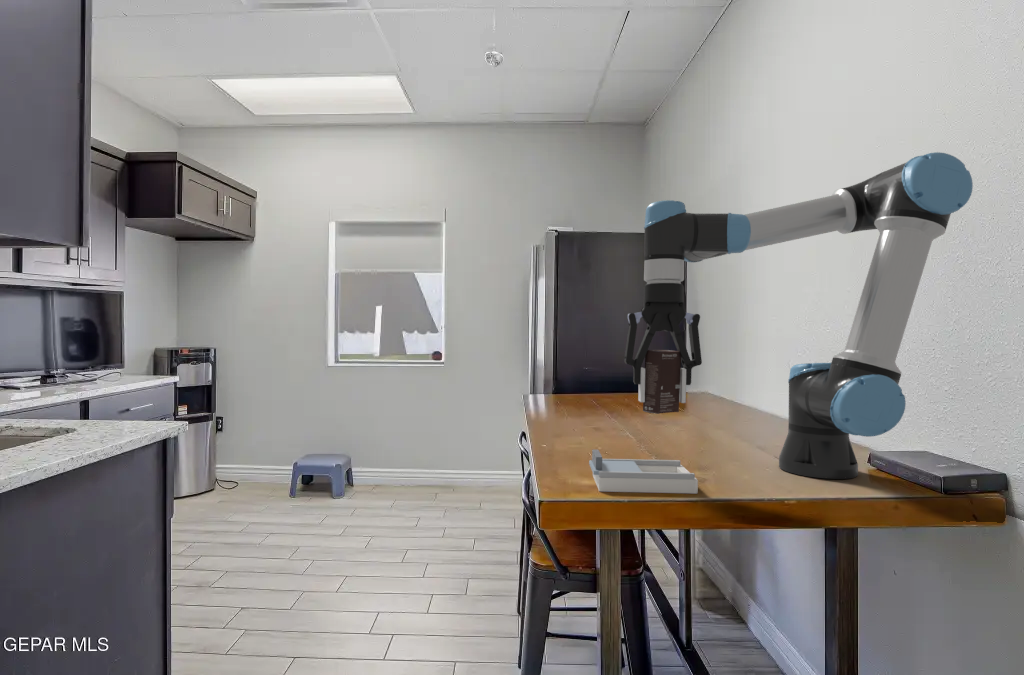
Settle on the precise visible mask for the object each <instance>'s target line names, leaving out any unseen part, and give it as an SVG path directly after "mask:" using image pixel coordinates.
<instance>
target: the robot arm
mask: <svg viewBox="0 0 1024 675" xmlns="http://www.w3.org/2000/svg"><path fill="white" fill-rule="evenodd" d="M973 184H974V183H973V178H972V175H971V173H970V170H969V169H967V168H966V164H964V162H962V160H960V159H959V158H957V157H956V156H954V155H952V154H949V153H946V152H939V151H937V152H930V153H929V152H928V153H926V154H923V155H917V156H915V157H913V158H910V159H909V160H908V161H906V162H904V163H901V164H900V165H897V166H894V167H892V168H890V169H888V170H887V169H886V170H884V171H883V172H880V173H878V174H876V175H874V176H872V177H869V178H868V179H866V180H863V181H861V182H859V183H855V184H853V185H850V186H847V187H842V188H841V187H840V188H838V189H836V190H834V191H833V193H832V194H831V195H829V196H825V197H824V196H823V197H819V198H815V199H810V200H805V201H802V202H801V201H800V202H797V203H792V204H791V203H790V204H786V205H783V206H778V207H773V208H768V209H764V210H760V211H755V212H751V213H747V214H742V213H732V212H728V213H693V212H687V210H686V204H685V203H684V202H683V201H680V200H670V199H669V200H668V199H667V200H666V199H665V200H660V201H659V200H658V201H657V200H656V201H654V202H651V203H650V204H649V205H648V206H647V207H646V209H645V220H644V227H643V229H644V260H643V261H644V262H643V263H644V264H643V266H644V267H643V268H644V270H643V281H644V282H646V283H645V284H644V285H643V305H642V309H640V311H639V312H638V311H637V312H634V313H633V312H631V313H629V312H628V313H627V315H626V319H627V323H628V329H627V330H628V331H627V335H626V342H625V343H626V344H625V348H624V349H625V351H624V356H623V357H624V358H623V361H624V363H625V364H626V365H629V366H631V367H632V368H633V370H632V374H633V375H632V376H633V377H632V378H633V379H632V380H633V381H632V382H633V383H634V385H638V398H637V399H638V400H637V401H638V402H639V403H643V402H645V367H642V365H643V363H644V361H645V355H646V353H647V350H649V348H650V346H651V343H652V340H653V338H654V336H655V333H656V332H662V331H664V332H669V333H670V335H671V337H672V340H673V342H674V345H675V348H676V351H679V352H680V354H681V366H682V367H681V372H680V395H679V403H681V404H686V403H687V401H686V400H687V397H686V396H687V386H691V385H692V370H693V368H694V367H697V366H700V365H702V362H703V361H702V353H701V344H700V334H699V333H700V332H699V324H700V320H701V315H700V314H699V313H690V312H687V311H686V309H685V306H684V302H685V301H684V298H685V297H684V296H685V295H684V294H685V286H684V284H683V283H681V282H683V281H684V280H685V262H687V263H699V262H701V261H702V262H703V260H708V259H711V258H716V257H717V258H718V257H721V256H725V255H731V254H741V253H743V252H745V251H748V250H749V251H750V250H753V249H757V248H763V247H767V246H772V245H776V244H781V243H785V242H789V241H794V240H799V239H804V238H809V237H813V236H818V235H819V236H820V235H823V234H827V233H833V232H839V233H840V234H843V235H846V234H850V233H856V232H861V231H872V230H878V232H879V235H878V239H877V243H876V246H875V249H874V252H873V256H872V259H871V262H870V266H869V269H868V272H867V274H866V275H867V276H866V277H865V282H864V286H863V289H862V291H861V295H860V298H859V301H858V305H857V308H856V311H855V315H854V317H853V320H852V324H851V328H850V331H849V334H848V338H847V341H846V345H845V347H844V349H843V351H841V352H839V353H838V354H835V355H834V356H832V359H831V362H812V363H811V362H810V363H798V364H797V363H796V364H795V365H793V366H791V368H790V370H789V377H788V429H787V430H788V432H787V435H786V437H785V440H784V443H783V444H782V448H781V451H780V453H779V457H778V467H779V468H780V469H781V470H782V471H785V472H788V473H791V474H793V475H794V474H795V475H799V476H804V477H811V478H818V479H827V480H828V479H829V480H831V479H832V480H844V479H847V480H848V479H854V478H857V477H858V475H859V464H858V460H857V458H856V454H855V451H854V449H853V446H852V443H851V439H850V435H852V436H859V437H860V436H861V437H865V438H866V437H869V438H871V437H876V436H877V437H878V436H881V435H883V434H885V433H887V432H889V431H891V430H893V428H895V427H896V426H897V425H898V424H899V423H900V421H901V419H902V418H903V416H904V415H905V414H904V413H905V410H906V396H905V395H904V394H903V389H902V388H901V386H900V385H899V383H900V380H901V376H902V371H901V370H900V369H899V367H898V365H897V364H896V360H897V358H898V354H899V351H900V347H901V344H902V341H903V337H904V335H905V332H906V327H907V325H908V321H909V318H910V315H911V312H912V308H913V305H914V301H915V299H916V296H917V292H918V289H919V285H920V282H921V279H922V275H923V272H924V269H925V266H926V263H927V259H928V257H929V254H930V253H929V252H930V250H931V247H932V243H933V241H934V240H936V239H938V238H939V237H941V236H943V235H944V234H945V233H946V230H947V227H948V225H949V221H950V218H951V214H953V213H956V212H958V211H959V210H960V209H962V208H963V207H964V206H965V205H967V203H969V202H968V201H969V200H970V199H971V196H972V193H973V189H974V188H973V187H974V186H973ZM641 318H642V319H643V321H644V323H646V325H647V327H646V330H645V331H644V335H643V337H642V341H641V343H640V345H639V347H638V350H637V352H636V355H635V358H634V359H633V357H634V350H635V343H636V336H637V330H638V324H639V323H640V322H641ZM684 319H685V322H686V324H687V325H688V335H689V345H690V346H689V347H690V353H691V354H690V355H691V357H690V355H689V353H688V350H687V346H686V344H685V342H684V339H683V336H682V330H681V329H680V326H679V325H681V323H682V322H683V320H684Z"/></svg>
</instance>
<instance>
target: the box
mask: <svg viewBox="0 0 1024 675" xmlns="http://www.w3.org/2000/svg"><path fill="white" fill-rule="evenodd" d="M644 368H645V402H642V411H643V412H644V413H649V414H656V415H657V414H658V415H660V414H666V413H667V414H668V413H679V412H680V411H679V410H680V402H679V395H680V372H681V368H682V362H681V354H680V352H679V351H677V350H672V349H671V350H669V349H648V350H647V353H646V355H645V358H644Z"/></svg>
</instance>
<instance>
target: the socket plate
mask: <svg viewBox="0 0 1024 675" xmlns="http://www.w3.org/2000/svg"><path fill="white" fill-rule="evenodd" d="M602 460H603V461H634V462H635V463H636V465H637V466H638V467H639V469H640V470H641V471H642V472H620V471H599V475H594V474H593V473H592V477H593V480H594V482H595V485H596V487H597V489H598V492H605V493H606V492H612V493H613V492H614V493H617V492H618V493H655V494H656V493H658V494H659V493H660V494H661V493H663V494H698V492H699V491H698V490H699V489H698V488H699V480H698V479H697V477H695V475H696V474H695V473H694V472H690V471H689V470H688V469H686V467H685V466H684V465H682V464H681V460H680V459H676V460H675V459H638V458H637V459H635V458H633V459H632V458H602Z"/></svg>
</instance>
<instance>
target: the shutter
mask: <svg viewBox="0 0 1024 675" xmlns="http://www.w3.org/2000/svg"><path fill="white" fill-rule="evenodd" d="M591 451H592V454H591V455H592V456H591V459H590V460H589V461H588V465H589V468H590V470H591V472H592V475H593V474H594V475H599V471H620V472H642V471H641V470H640V469H639V467H638V466H637V465H636V463H635V462H634V461H603V460H602V459H603V456H602V454H601V452H600V450H599V449H592V450H591Z"/></svg>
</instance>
